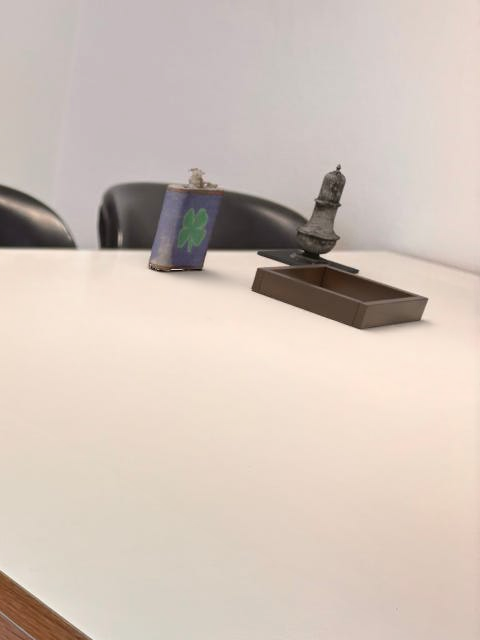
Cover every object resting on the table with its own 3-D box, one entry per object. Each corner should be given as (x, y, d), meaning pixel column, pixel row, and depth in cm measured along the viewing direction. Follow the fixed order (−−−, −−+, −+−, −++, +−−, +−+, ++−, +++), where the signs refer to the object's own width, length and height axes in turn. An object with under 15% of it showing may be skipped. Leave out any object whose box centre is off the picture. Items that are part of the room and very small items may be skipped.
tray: (316, 284, 131) (323, 263, 129) (420, 320, 123) (429, 298, 122) (250, 290, 120) (257, 267, 119) (359, 329, 113) (368, 305, 112)
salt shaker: (287, 259, 140) (317, 161, 134) (287, 252, 145) (316, 157, 139) (332, 269, 139) (364, 171, 133) (330, 261, 144) (361, 166, 138)
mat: (295, 252, 149) (296, 249, 148) (358, 273, 143) (359, 269, 143) (256, 254, 142) (257, 250, 142) (321, 275, 136) (322, 272, 136)
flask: (159, 272, 120) (184, 170, 114) (139, 265, 122) (163, 164, 116) (208, 270, 126) (234, 173, 120) (188, 263, 128) (213, 167, 122)
